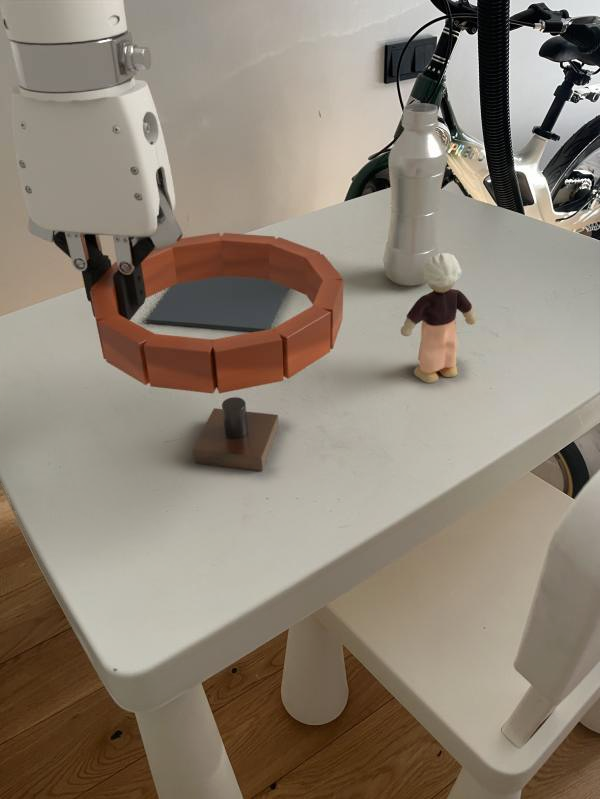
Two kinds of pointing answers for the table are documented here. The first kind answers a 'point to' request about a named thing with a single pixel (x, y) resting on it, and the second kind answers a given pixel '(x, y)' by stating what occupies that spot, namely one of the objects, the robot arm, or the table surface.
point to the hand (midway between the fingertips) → (119, 309)
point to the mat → (221, 304)
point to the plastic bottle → (414, 195)
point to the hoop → (236, 355)
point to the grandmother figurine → (438, 318)
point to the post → (236, 437)
